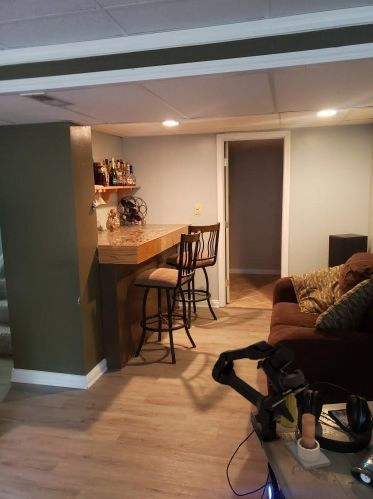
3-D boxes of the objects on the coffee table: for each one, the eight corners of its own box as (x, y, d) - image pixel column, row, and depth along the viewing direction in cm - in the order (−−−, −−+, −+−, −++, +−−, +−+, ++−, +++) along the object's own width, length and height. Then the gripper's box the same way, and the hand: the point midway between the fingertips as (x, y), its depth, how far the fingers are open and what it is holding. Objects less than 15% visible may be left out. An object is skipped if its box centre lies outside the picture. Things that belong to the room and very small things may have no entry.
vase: (297, 428, 146) (298, 392, 144) (281, 426, 147) (281, 391, 145) (296, 419, 152) (296, 384, 150) (280, 417, 153) (280, 383, 151)
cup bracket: (285, 445, 136) (285, 432, 135) (308, 441, 138) (308, 427, 138) (305, 470, 124) (305, 455, 123) (330, 465, 126) (330, 450, 125)
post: (299, 450, 131) (299, 414, 129) (309, 448, 132) (310, 412, 130) (306, 458, 127) (306, 421, 125) (316, 455, 128) (317, 419, 126)
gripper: (271, 372, 125) (300, 418, 118) (304, 356, 137) (333, 397, 130) (252, 386, 133) (279, 431, 126) (286, 370, 144) (312, 410, 137)
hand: (301, 416), depth 129 cm, fingers open, 9 cm apart
